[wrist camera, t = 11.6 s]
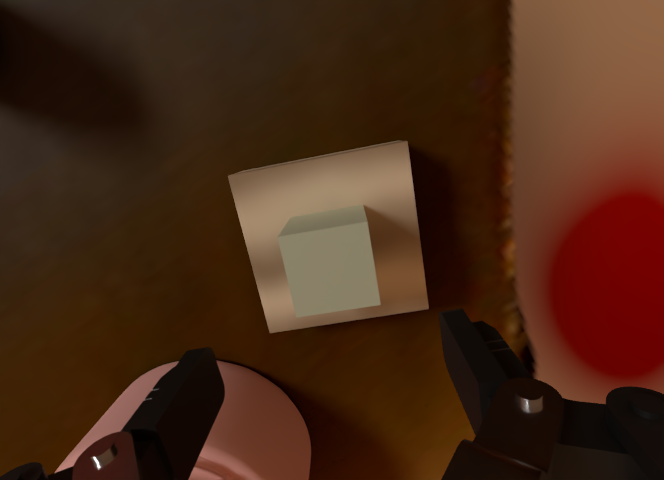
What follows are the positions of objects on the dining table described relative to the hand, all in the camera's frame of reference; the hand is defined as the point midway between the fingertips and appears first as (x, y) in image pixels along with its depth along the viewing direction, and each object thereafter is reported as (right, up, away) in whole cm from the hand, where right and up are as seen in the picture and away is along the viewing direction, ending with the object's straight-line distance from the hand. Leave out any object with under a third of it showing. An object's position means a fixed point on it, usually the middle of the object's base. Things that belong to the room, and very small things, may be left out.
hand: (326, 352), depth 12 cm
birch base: (0, +5, +16) cm, 17 cm away
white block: (0, +4, +12) cm, 13 cm away
